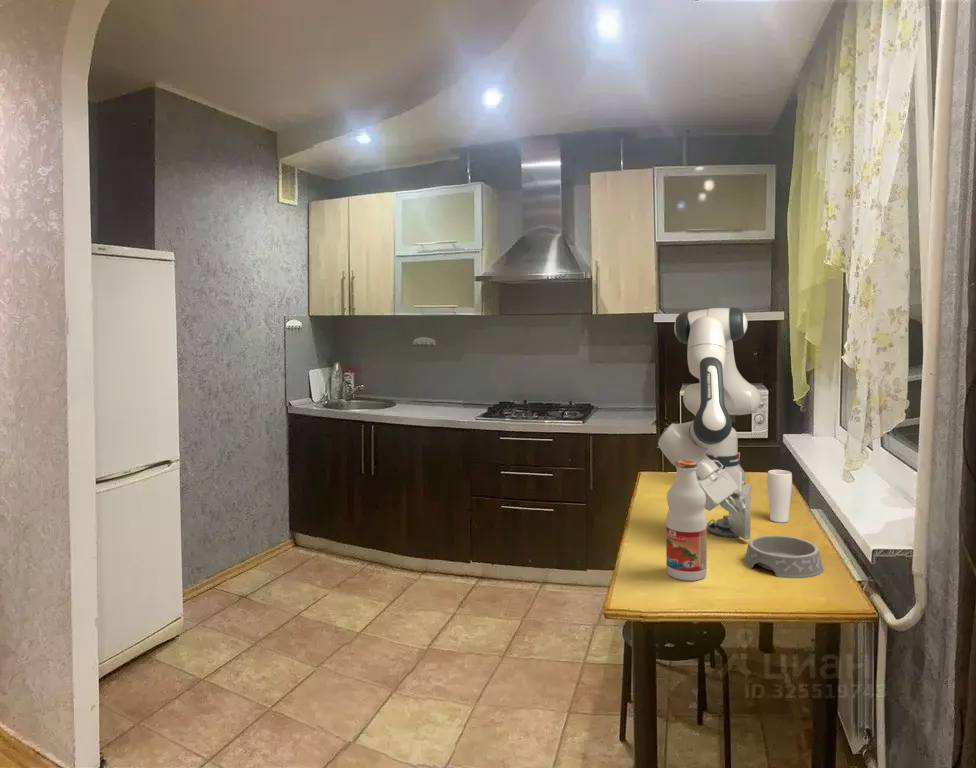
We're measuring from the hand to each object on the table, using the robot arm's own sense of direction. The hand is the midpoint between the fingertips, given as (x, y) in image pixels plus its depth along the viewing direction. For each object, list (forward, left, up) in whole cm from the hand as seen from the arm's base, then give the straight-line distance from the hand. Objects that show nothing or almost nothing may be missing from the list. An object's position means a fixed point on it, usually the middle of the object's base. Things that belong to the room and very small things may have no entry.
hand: (736, 513), depth 185 cm
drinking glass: (-27, +5, -9) cm, 28 cm away
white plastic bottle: (+29, -3, -9) cm, 31 cm away
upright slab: (-6, -2, -7) cm, 9 cm away
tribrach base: (-9, -5, -8) cm, 13 cm away
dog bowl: (+10, +14, -9) cm, 20 cm away
